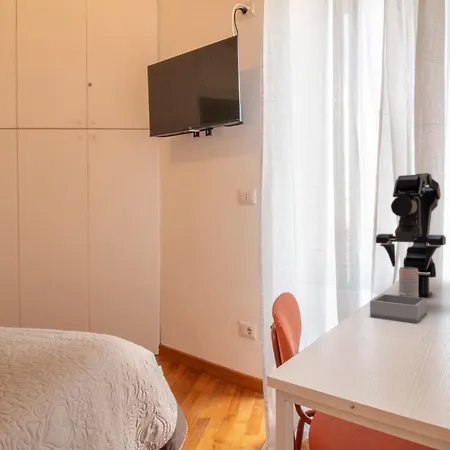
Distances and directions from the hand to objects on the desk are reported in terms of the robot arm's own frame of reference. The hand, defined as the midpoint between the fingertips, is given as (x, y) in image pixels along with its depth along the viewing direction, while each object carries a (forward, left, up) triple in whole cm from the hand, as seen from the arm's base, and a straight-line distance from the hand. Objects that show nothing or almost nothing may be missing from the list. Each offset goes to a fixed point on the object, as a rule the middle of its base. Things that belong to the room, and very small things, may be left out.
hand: (409, 267), depth 123 cm
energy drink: (+1, 0, -12) cm, 12 cm away
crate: (+13, 0, -12) cm, 18 cm away
